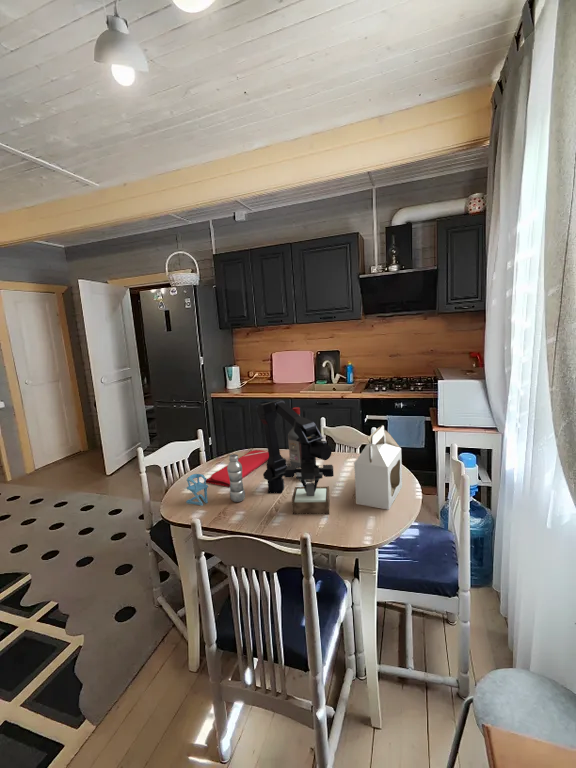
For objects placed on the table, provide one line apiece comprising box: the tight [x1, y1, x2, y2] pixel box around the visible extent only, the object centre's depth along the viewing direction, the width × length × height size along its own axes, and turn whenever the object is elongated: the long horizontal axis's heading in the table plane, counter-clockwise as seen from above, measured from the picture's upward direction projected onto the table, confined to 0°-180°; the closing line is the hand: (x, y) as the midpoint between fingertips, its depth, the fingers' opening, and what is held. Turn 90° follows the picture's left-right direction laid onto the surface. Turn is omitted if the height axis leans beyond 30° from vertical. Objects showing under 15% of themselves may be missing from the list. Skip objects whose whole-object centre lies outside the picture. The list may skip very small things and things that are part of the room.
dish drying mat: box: [206, 449, 269, 488], centre depth 196 cm, size 16×41×4 cm, turn 152°
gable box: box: [353, 424, 403, 510], centre depth 155 cm, size 22×13×28 cm, turn 151°
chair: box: [185, 473, 209, 507], centre depth 162 cm, size 8×8×12 cm
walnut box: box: [291, 485, 331, 515], centre depth 151 cm, size 14×11×6 cm
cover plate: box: [294, 482, 326, 502], centre depth 149 cm, size 12×10×5 cm
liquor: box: [287, 406, 301, 468], centre depth 194 cm, size 9×9×30 cm
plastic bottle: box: [226, 453, 246, 503], centre depth 160 cm, size 6×7×20 cm
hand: (310, 491), depth 149 cm, fingers closed on cover plate, 3 cm apart
